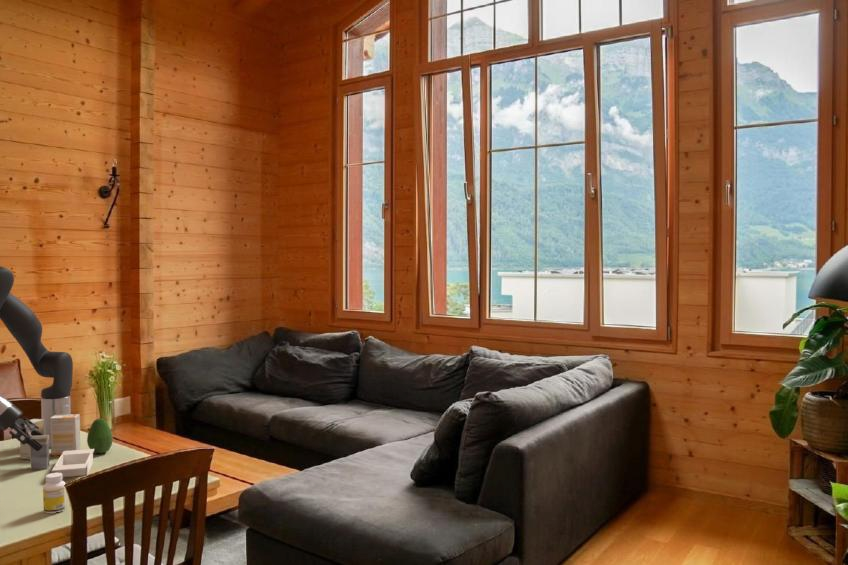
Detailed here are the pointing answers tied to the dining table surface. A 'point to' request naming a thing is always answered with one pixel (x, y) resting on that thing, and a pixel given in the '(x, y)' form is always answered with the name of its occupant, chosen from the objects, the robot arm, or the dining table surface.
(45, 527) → the dining table surface
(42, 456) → the capped block
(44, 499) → the supplement bottle
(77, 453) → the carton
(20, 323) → the robot arm
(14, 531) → the dining table surface
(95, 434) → the avocado
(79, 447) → the supplement box
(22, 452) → the skincare box
